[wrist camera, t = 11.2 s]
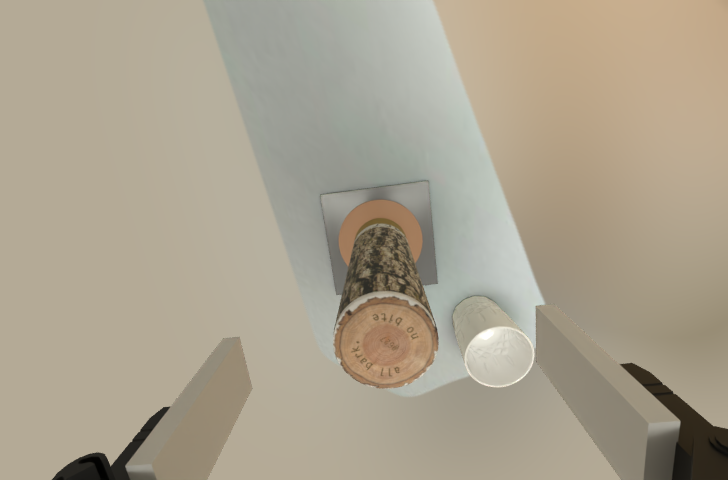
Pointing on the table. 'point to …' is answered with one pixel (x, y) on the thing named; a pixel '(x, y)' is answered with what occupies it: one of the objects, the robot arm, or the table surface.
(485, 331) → the white cup
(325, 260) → the table surface
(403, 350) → the brown bark cylinder
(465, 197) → the table surface
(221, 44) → the table surface
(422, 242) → the coaster
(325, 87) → the table surface
